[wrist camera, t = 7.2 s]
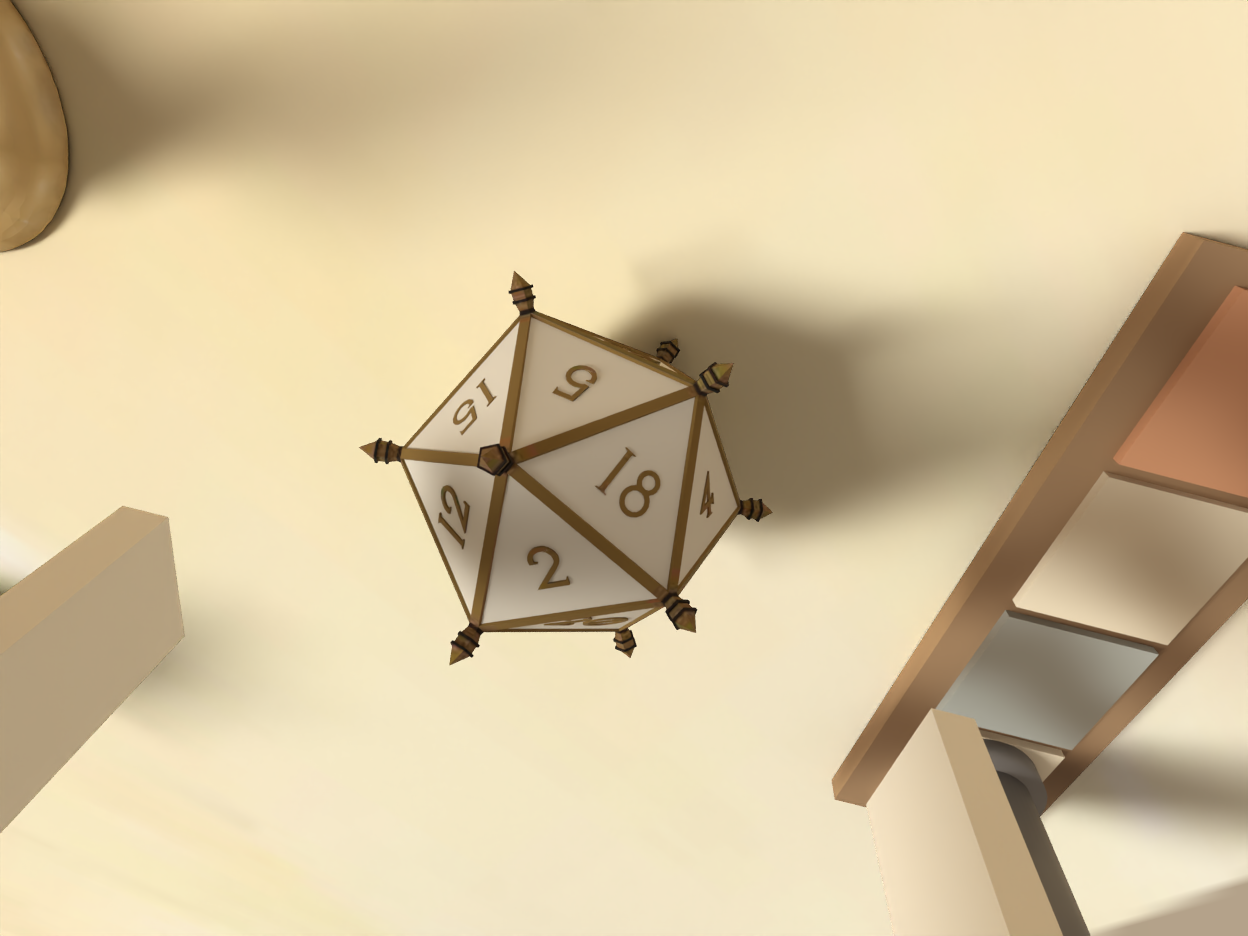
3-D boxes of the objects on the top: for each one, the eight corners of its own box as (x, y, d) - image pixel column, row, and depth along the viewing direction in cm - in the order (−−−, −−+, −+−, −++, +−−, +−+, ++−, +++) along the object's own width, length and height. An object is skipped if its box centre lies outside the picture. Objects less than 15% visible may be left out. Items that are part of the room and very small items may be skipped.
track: (1006, 823, 27) (1017, 851, 26) (831, 780, 27) (835, 806, 26) (1476, 310, 16) (1524, 326, 15) (1183, 231, 16) (1212, 243, 15)
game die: (676, 352, 22) (912, 547, 16) (504, 538, 23) (660, 795, 17) (489, 150, 16) (759, 341, 9) (260, 419, 17) (359, 765, 10)
